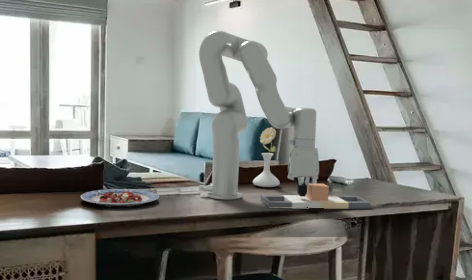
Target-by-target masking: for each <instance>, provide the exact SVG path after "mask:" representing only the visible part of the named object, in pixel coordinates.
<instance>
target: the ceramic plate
mask: <svg viewBox="0 0 472 280" xmlns="http://www.w3.org/2000/svg"><path fill="white" fill-rule="evenodd" d="M159 198H160V195H159V194H157V193H156V192H153V191H149V190H143V189H134V188H133V189H132V188H131V189H130V188H110V189H98V190H92V191H87V192H84V193H83V194H81V195H80V199H81V200H82V201H85V202H88V203H94V204H95V203H96V204H95V205H98V204H99V205H98V206H102V205H105V206H104V207H111V206H127V207H136V206H141V205H144V204H145V203H150V202H154V201H156V200H158V199H159ZM135 205H136V206H135Z"/></svg>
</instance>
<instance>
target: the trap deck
mask: <svg viewBox="0 0 472 280" xmlns="http://www.w3.org/2000/svg"><path fill="white" fill-rule="evenodd" d="M261 201H262V202H263V203H262V202H261ZM260 202H261V203H262V204H264V203H265V204H266V205H267V206H268V207H308V208H307V209H309V208H310V207H311V208H324V209H325V210H326V209H328V210H329V209H331V210H332V209H335V210H336V209H339V210H341V209H342V210H343V209H350V210H351V209H355V210H356V209H357V210H358V209H362V210H363V209H364V210H365V209H371V203H372V202H370V201H368V200H366V199H364V198H362V197H359V196H357V195H328V201H311V200H310V199H308V198H307V197H306V196H305V197H304V196H302V197H301V196H299V195H298V194H297V195H294V194H293V195H291V194H290V195H287V194H285V195H283V194H281V195H280V194H279V195H276V194H273V195H272V194H260ZM265 204H264V205H265ZM266 205H265V206H266ZM267 206H266V207H267ZM268 207H267V208H268Z"/></svg>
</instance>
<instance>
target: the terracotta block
mask: <svg viewBox="0 0 472 280" xmlns="http://www.w3.org/2000/svg"><path fill="white" fill-rule="evenodd" d="M329 189H330V186H329V185H326V184H325V183H316V184H311V183H309V184H308V185H307V194H306V197H307V198H308V199H310V200H311V201H328V196H329V191H330V190H329Z"/></svg>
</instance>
